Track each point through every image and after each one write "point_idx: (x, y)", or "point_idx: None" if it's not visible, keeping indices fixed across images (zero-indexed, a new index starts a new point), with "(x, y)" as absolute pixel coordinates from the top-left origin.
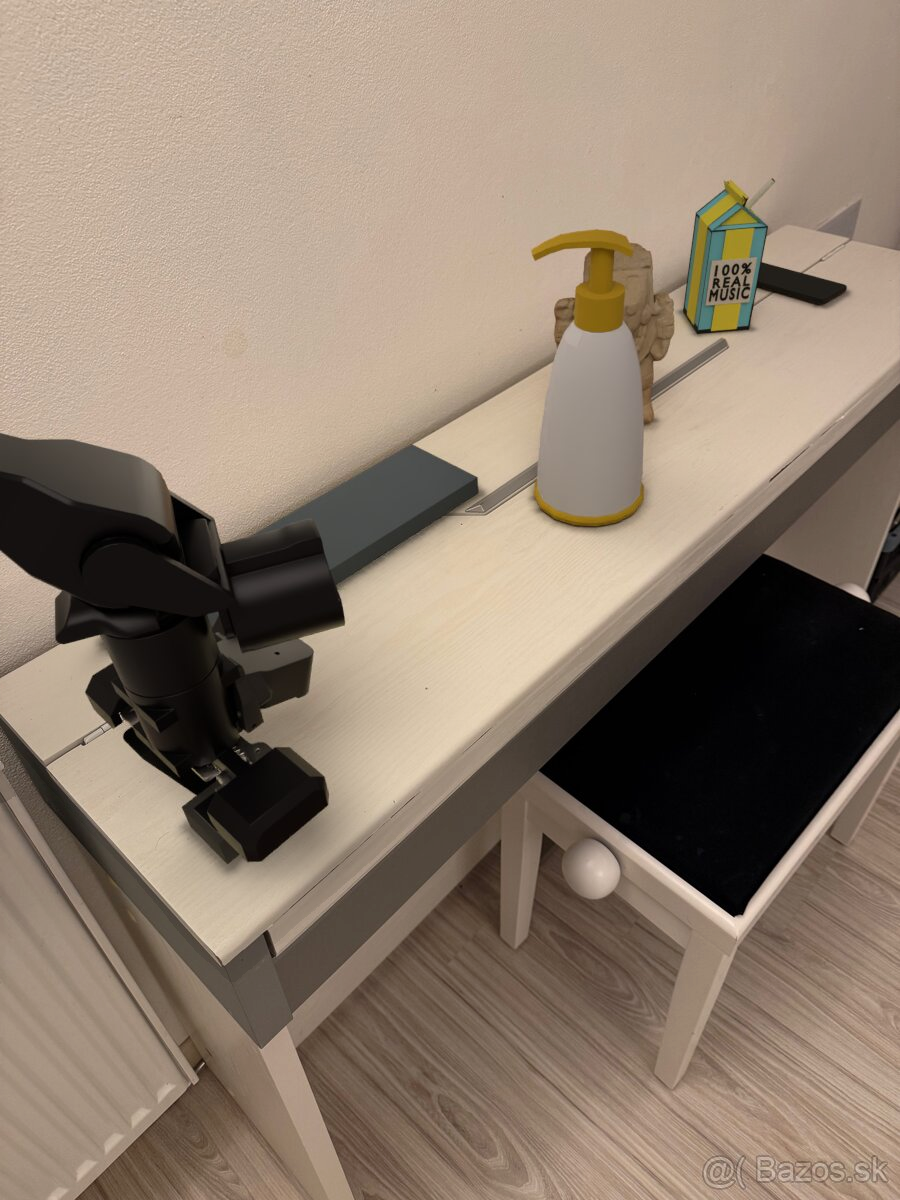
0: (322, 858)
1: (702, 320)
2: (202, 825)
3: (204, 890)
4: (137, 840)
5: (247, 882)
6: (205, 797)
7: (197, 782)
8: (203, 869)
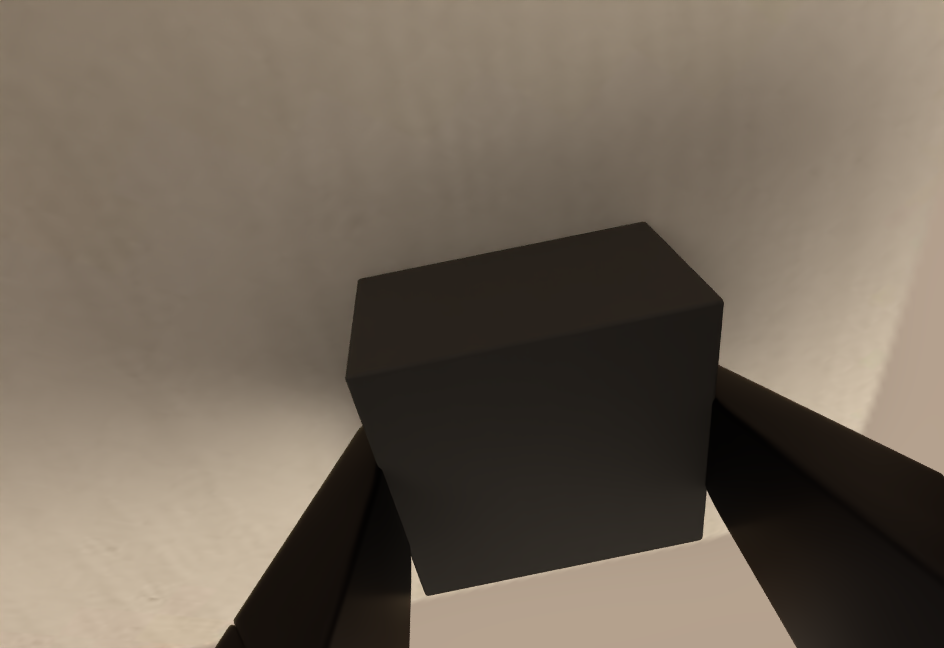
0: (937, 148)
1: None
2: (576, 563)
3: None
4: None
5: None
6: (448, 527)
7: (396, 597)
8: None
